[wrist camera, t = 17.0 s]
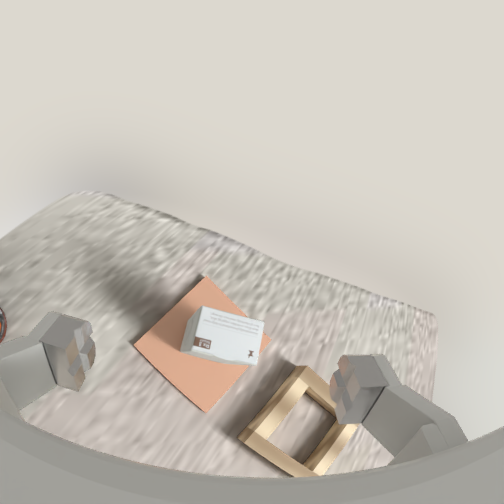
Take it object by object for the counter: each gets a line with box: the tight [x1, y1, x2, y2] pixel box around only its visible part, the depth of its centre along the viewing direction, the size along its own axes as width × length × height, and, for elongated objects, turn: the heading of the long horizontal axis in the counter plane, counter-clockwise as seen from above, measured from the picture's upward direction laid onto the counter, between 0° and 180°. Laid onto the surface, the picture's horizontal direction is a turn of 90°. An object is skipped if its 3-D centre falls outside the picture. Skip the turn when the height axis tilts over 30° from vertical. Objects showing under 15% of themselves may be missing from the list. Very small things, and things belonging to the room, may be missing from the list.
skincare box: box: [180, 305, 264, 366], centre depth 30 cm, size 6×4×12 cm
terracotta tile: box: [134, 276, 271, 413], centre depth 35 cm, size 13×12×1 cm
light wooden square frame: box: [237, 366, 360, 477], centre depth 34 cm, size 13×13×3 cm
